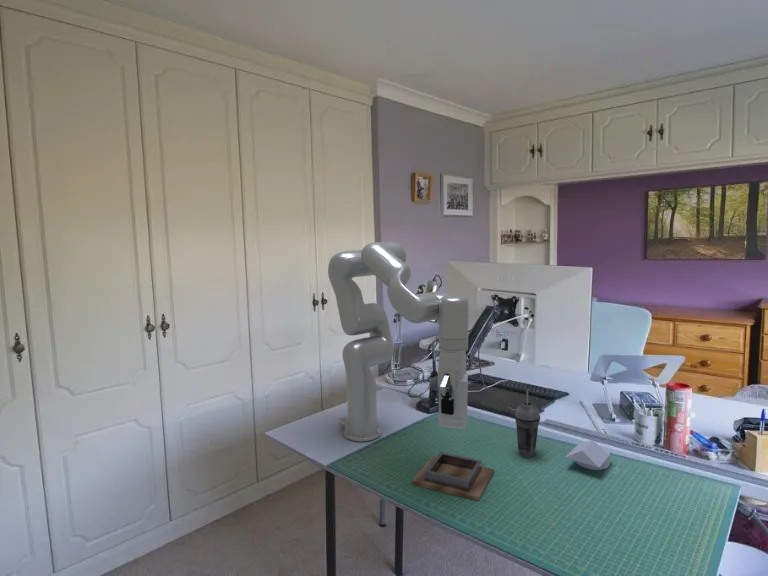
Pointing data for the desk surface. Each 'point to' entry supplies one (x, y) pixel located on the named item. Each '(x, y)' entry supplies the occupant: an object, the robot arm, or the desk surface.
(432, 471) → the collar board
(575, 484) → the desk surface
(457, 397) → the supplement box
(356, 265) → the robot arm
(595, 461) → the grey faceted rock
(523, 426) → the beverage cup
